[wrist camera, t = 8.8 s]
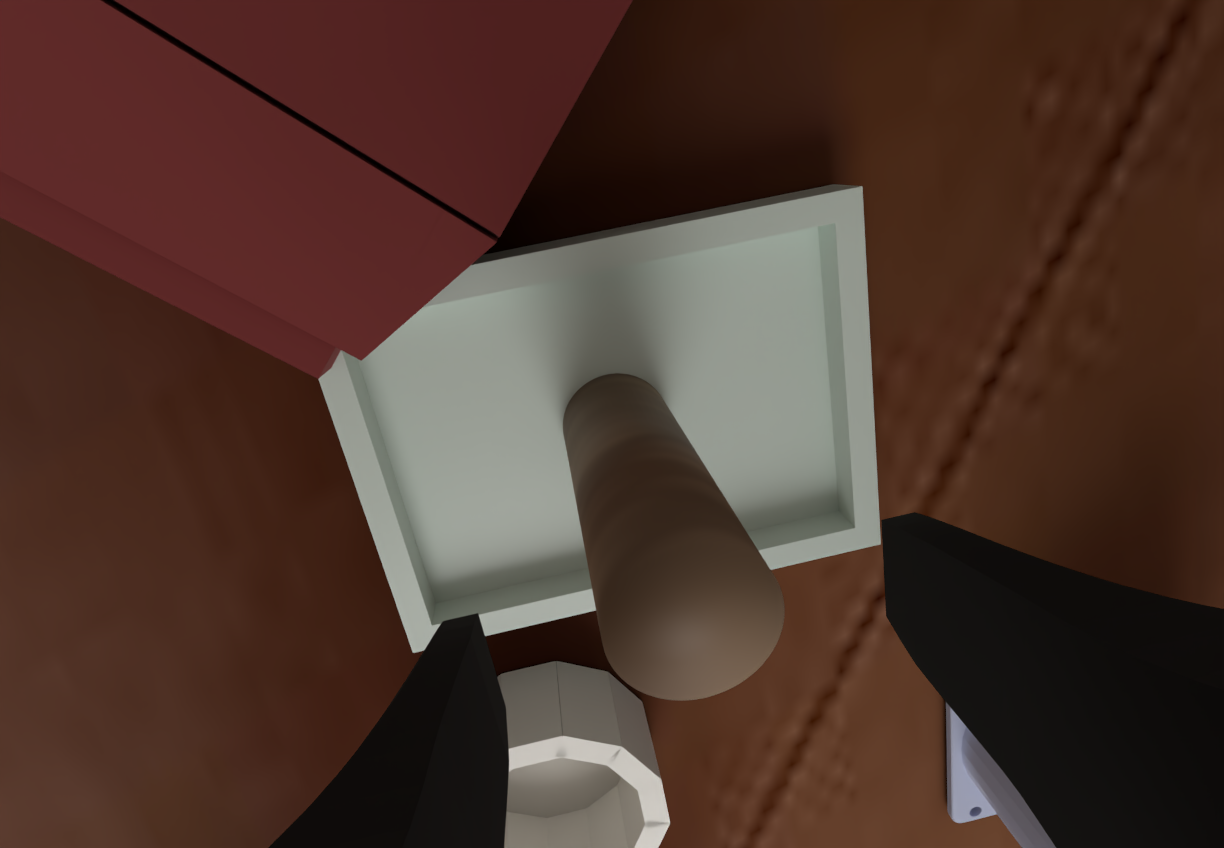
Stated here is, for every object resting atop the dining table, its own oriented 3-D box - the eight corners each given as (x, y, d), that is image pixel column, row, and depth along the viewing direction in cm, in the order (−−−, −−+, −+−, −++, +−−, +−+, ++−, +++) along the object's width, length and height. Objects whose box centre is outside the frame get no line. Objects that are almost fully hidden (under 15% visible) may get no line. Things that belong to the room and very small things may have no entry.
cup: (630, 643, 25) (647, 714, 22) (661, 794, 28) (681, 878, 24) (425, 691, 25) (412, 771, 21) (477, 840, 27) (472, 932, 24)
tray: (834, 184, 21) (862, 186, 19) (855, 518, 25) (880, 544, 23) (310, 289, 20) (291, 301, 18) (419, 618, 24) (413, 652, 22)
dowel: (662, 365, 21) (780, 526, 12) (673, 464, 22) (788, 681, 13) (554, 383, 21) (588, 561, 12) (571, 481, 22) (614, 715, 13)
